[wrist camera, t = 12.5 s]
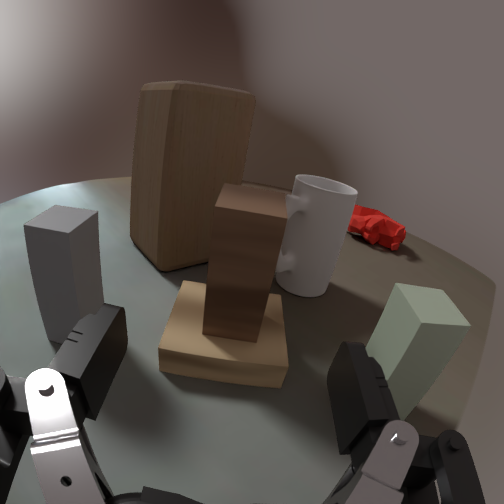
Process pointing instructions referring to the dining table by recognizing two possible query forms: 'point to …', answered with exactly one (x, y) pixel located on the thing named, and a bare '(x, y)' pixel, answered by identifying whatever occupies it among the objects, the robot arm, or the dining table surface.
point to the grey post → (65, 267)
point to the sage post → (415, 341)
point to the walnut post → (242, 260)
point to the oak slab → (222, 345)
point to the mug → (313, 234)
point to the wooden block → (185, 166)
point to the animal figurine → (376, 227)
